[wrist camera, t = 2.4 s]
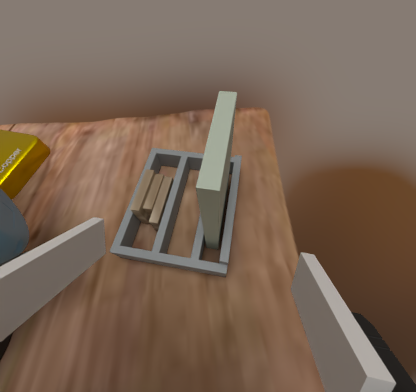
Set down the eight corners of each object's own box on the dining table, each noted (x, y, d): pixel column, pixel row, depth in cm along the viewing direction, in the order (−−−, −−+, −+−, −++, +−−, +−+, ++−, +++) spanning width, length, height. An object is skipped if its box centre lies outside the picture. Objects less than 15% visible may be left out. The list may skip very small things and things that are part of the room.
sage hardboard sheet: (206, 247, 34) (195, 187, 16) (218, 184, 40) (219, 91, 22) (218, 249, 34) (219, 190, 16) (228, 185, 40) (237, 92, 22)
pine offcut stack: (140, 228, 36) (127, 215, 31) (155, 186, 40) (146, 169, 35) (163, 232, 36) (154, 219, 30) (176, 189, 40) (170, 172, 35)
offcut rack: (120, 257, 34) (102, 248, 28) (157, 160, 43) (149, 140, 38) (225, 277, 31) (227, 271, 26) (239, 170, 41) (242, 150, 36)
